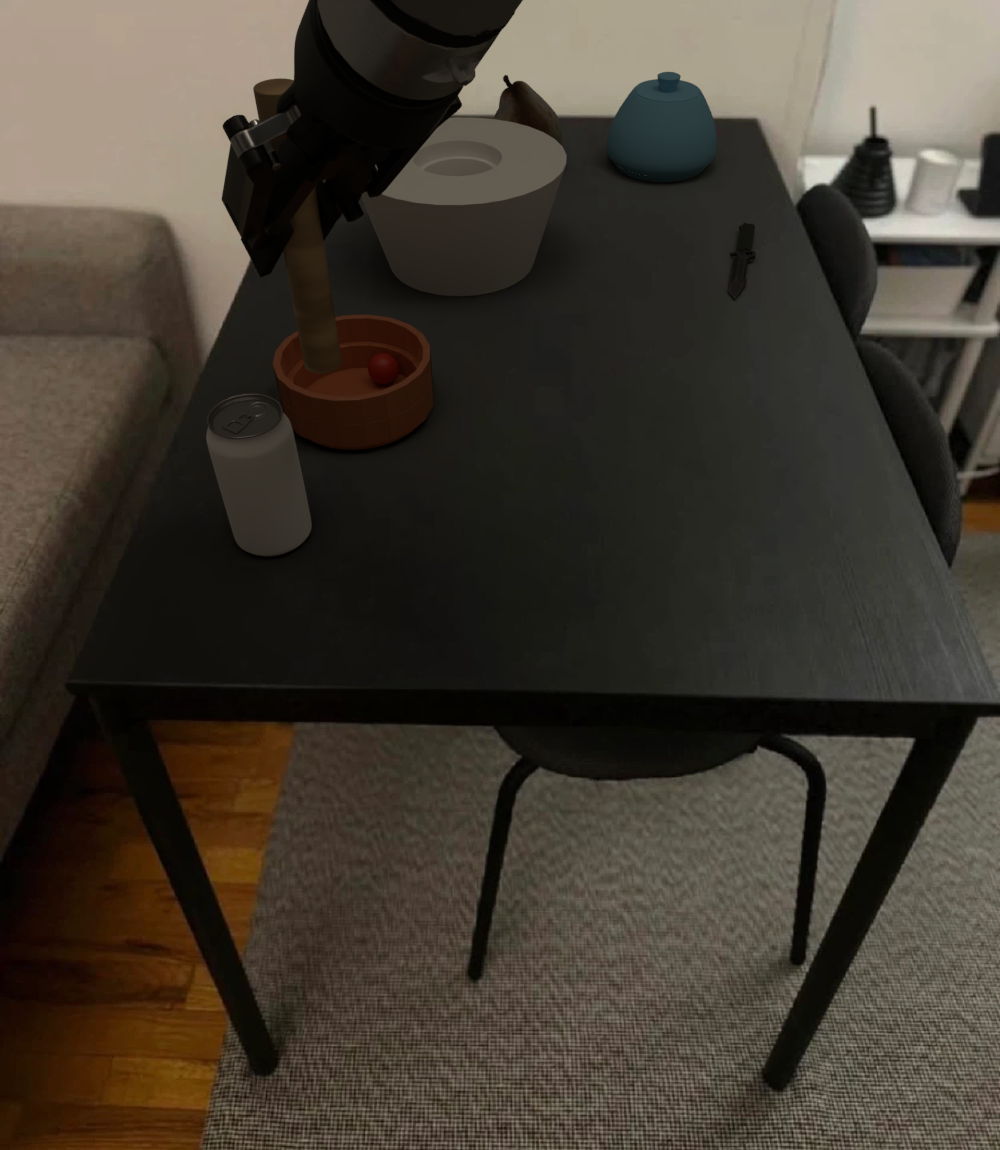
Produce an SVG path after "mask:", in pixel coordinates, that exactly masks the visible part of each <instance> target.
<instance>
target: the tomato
mask: <svg viewBox="0 0 1000 1150" xmlns="http://www.w3.org/2000/svg"><path fill="white" fill-rule="evenodd" d="M398 370H399V368H398V363H397V361H396V360H395V358H394V357H393V356H391V355H389V354H387V353H379V354H376V355H374V356H373V357H372V358H371V359H370V361H369V363H368V373H369V376H370V377H371V379H372V380H373V381H375V382H376V383H378V384H389V383H391V382H392V381H394V380H395V378H396V377H397V375H398Z"/></svg>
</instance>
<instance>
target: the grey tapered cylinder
mask: <svg viewBox="0 0 1000 1150" xmlns="http://www.w3.org/2000/svg"><path fill="white" fill-rule="evenodd" d="M375 166H376V165H375ZM566 167H567V153H566V151H565V149H564V147H563V146H562V145H560V144H559V143H558V142H557V141H556V140H555V139H554V138H552V137H550V136H549V135H547V134H545V133H544V132H541V131H539V130H536V129H534V128H531V127H529V126H525V125H521V124H517V123H514V122H508V121H502V120H496V119H494V118H485V117H484V118H483V117H450V118H448V119H447V120H446V121H445V122H444V123H443V124H441V125H440V126H439V127H438V128H437V129H436V130H435V131H434V132H433V134H432V135H431V136H430V137H429V138H428V140H427V141H426V142H425V143H424V144H423V146H422V147H421V148H420V149H419V150H418V152H417V153H416V154H415V155H414V156H413V158H412V159H411V160H410V161H409V162H408V164H407V165H406V166H405V167H404V168H403V170H402V171H401V172H400V173H399V174H398V176H397V177H396V178H395V179H394V180H393V182H392V183H391V184H390V185H389V186H388V188H387V189H386V190H385V191H384V192H383V193H382V194H381V195H380V196H377V197H372V198H370V197H369V196H368V194H367V192H364V193H362V196H361V198H360V199H361V200H362V204H363V205H364V208H365V211H366V212H367V215H368V217H369V220H370V222H371V224H372V227H373V230H374V231H375V234H376V236H377V239H378V241H379V243H380V247H381V249H382V250H383V253H384V256H385V259H386V260H387V263H388V266H389V268H390V269H391V272H392V273H393V275H394V276H395V277H396V279H398V281H400V282H401V283H403V284H404V285H406V286H408V287H409V288H412V289H415V290H418V291H419V292H422V293H423V292H424V293H427V294H431V295H435V296H437V295H438V296H446V297H471V296H473V297H474V296H480V295H487V294H491V293H495V292H498V291H502V290H505V289H507V288H510V287H512V286H514V285H516V284H518V283H519V282H521V281H522V280H523V279H525V278H526V277H527V276H528V275H529V274H530V272H531V271H532V269H533V267H534V264H535V261H536V258H537V255H538V252H539V250H540V249H539V248H540V245H541V244H542V239H543V236H544V234H545V231H546V228H547V225H548V221H549V218H550V215H551V211H552V209H553V206H554V203H555V199H556V197H557V194H558V192H559V191H558V190H559V188H560V184H561V181H562V178H563V176H564V172H565V169H566ZM376 168H377V166H376ZM377 170H378V169H377Z"/></svg>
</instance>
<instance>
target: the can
mask: <svg viewBox="0 0 1000 1150" xmlns="http://www.w3.org/2000/svg"><path fill="white" fill-rule="evenodd" d="M206 424H207V430H206V434H205V440H206V445H207V449H208V453H209V457H210V460H211V464H212V467H213V470H214V475H215V477H216V481H217V483H218V488H219V491H220V495H221V498H222V501H223V505H224V508H225V511H226V516H227V518H228V521H229V525H230V528H231V532H232V536H233V538H234V540H235V543H236V544H237V546H238V547H239V548H240V549H241V550H243V551H245V552H247V553H249V554H251V555H253V556H258V557H263V558H265V557H266V558H269V557H270V558H271V557H278V556H282V555H285V554H288V553H291V552H292V551H294V550H296V549H297V548H299V547H300V546H301V545H303V543H304V542H305V541H306V540H307V539H308V537H309V536H310V534H311V532H312V527H313V525H312V524H313V522H312V518H311V517H312V516H311V512H310V506H309V502H308V497H307V491H306V487H305V481H304V476H303V473H302V467H301V462H300V457H299V453H298V449H297V443H296V439H295V434H294V430H293V429H292V426H291V423H290V420H289V419H288V417H287V416H286V415H285V414H284V413H283V409H282V406H281V402H280V401H278V400H277V399H275V398H274V397H272V396H269V395H266V394H262V393H243V394H236V395H233V396H230V397H228V398H227V397H226V398H225V399H223V400H221V401H219V402H218V403H216V404H215V405H214V406H213V407H212V408H211V409H209V411H208V414H207V416H206Z"/></svg>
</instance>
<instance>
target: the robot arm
mask: <svg viewBox="0 0 1000 1150" xmlns="http://www.w3.org/2000/svg"><path fill="white" fill-rule="evenodd" d="M523 1H524V0H308V1H307V4H306V6H305V9H304V12H303V14H302V16H301V20H300V23H299V25H298V26H297V31H296V34H295V39H294V48H293V80H294V82H293V83H292V84H291V86H290V87H289V88H288V89H287V90H286V91H285V92H284V93H283V94H282V95H281V96H280V97H279V99H278V101H277V103H276V115H274V116H272V117H270V118H268V119H266V120H264V121H262V122H259V119H256V118H255V119H252V120H251V121H249V120H248V119H247V118H246V115H244V114H235V115H233V116H231V117H229V118H227V119H226V120H225V121H224V122H223V124H222V129H223V131H224V133H225V135H226V137H227V139H228V141H229V142H230V144H229V151H228V157H227V164H226V168H225V169H226V171H225V176H224V181H223V187H222V193H221V202H222V204H223V206H224V207H225V210H226V211H227V213H228V216H229V217H230V219H231V221H232V223H233V226H234V227H235V229H236V231H237V232H238V234H239V236H240V241H241V243H242V245H243V248H244V249H245V251H246V252H247V254H248V257H249V258H250V260H251V262H252V264H253V266H254V269H255V270H256V271H257V274H258V275H259V277H260V278H263V277H266V276H268V275H271V274H272V272H273V270H274V269H275V266H276V265H277V263H278V261H279V259H280V258H281V256H282V254H283V250H284V247H285V246H286V245H287V243H288V241H289V240H290V238H291V236H292V234H293V232H294V230H293V228H292V226H291V224H290V220H291V219H292V218H293V216H294V215H295V213H296V212H297V211H298V209H299V208H300V207H301V205H302V204H303V202H304V201H305V200H306V198H307V197H308V196H309V194H310V193H311V191H312V190H313V189H314V187H316V193H317V200H318V207H319V213H320V220H321V227H322V233H323V240H324V241H326V239H327V237H328V236H329V234H330V233H331V231H332V230H333V228H334V226H335V225H336V223H337V222H338V221H339V220H340V218H341V217H342V216H343V217H344V218H345V221H346V222H347V223H353V222H355V221H357V220H359V219H361V217H363V216H364V215H365V212H364V210H363V208H362V207H361V205H360V201H361V199H362V198H361V196H362V193H364V192H367V194H368V196H369V197H370V198H372V197H377V196H380V195H381V194H382V193H383V192H384V191H385V190H386V189H387V188H388V186H389V185H390V184H391V183H392V182H393V180H394V179H395V178H396V177H397V176H398V174H399V173H400V172H401V171H402V170H403V168H404V167H405V166H406V165H407V164H408V162H409V161H410V160H411V159H412V158H413V156H414V155H415V154H416V153H417V152H418V150H419V149H420V148H421V147H422V146H423V144H424V143H425V142H426V141H427V140H428V138H429V137H430V136H431V135H432V134H433V132H434V131H435V130H436V129H437V128H438V127H439V126H440V125H441V124H443V123H444V122H445V121H446V120H447V119H448V118H452V116H454V115H455V114H456V113H458V112H459V110H460V109H461V108H462V106H463V102H462V101H461V99H460V97H459V95H460V93H461V92H462V90H463V89H464V86H465V87H466V86H468V85H469V84H471V83H472V82H473V81H474V80H475V78H476V69H477V67H478V66H479V64H480V63H481V61H482V60H483V58H484V57H485V55H486V54H487V52H488V51H489V50H490V48H491V47H492V46H493V44H494V42H495V41H496V39H497V38H498V36H499V35H500V33H501V32H502V31H503V30H504V28H505V27H507V25H508V24H509V22H510V21H511V19H512V18H513V17H514V15H515V13H516V11H517V9H518V8H519V7H520V5H521V4H522V2H523ZM375 165H376V166H377V168H376V166H375ZM377 169H378V170H377Z"/></svg>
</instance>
